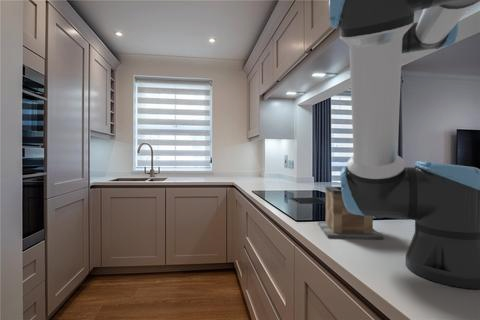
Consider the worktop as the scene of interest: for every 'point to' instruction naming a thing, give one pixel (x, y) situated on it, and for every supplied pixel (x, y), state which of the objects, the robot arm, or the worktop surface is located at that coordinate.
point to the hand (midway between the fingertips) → (376, 156)
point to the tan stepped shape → (345, 219)
